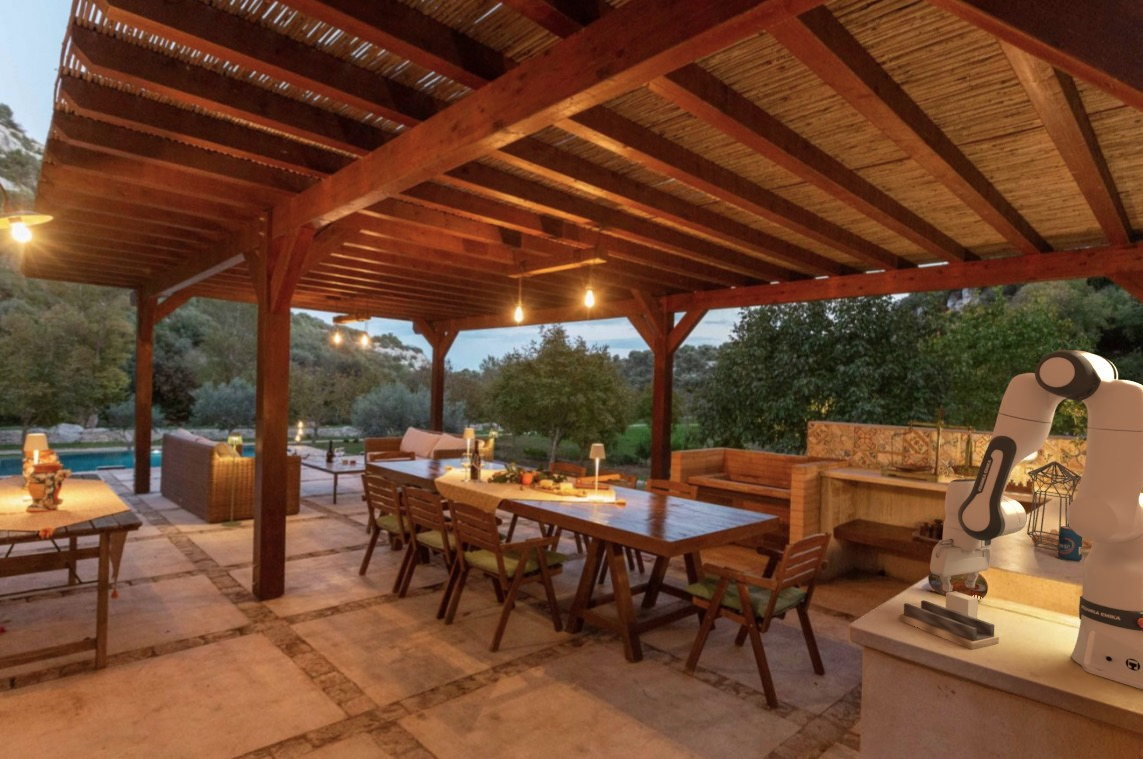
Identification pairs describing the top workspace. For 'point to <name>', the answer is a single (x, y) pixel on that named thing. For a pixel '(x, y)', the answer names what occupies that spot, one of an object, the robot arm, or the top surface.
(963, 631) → the rail board
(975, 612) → the block
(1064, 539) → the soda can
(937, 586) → the tin
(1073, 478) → the geometric lantern
